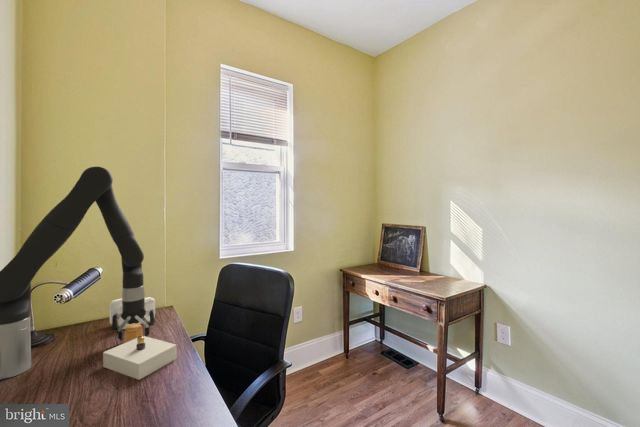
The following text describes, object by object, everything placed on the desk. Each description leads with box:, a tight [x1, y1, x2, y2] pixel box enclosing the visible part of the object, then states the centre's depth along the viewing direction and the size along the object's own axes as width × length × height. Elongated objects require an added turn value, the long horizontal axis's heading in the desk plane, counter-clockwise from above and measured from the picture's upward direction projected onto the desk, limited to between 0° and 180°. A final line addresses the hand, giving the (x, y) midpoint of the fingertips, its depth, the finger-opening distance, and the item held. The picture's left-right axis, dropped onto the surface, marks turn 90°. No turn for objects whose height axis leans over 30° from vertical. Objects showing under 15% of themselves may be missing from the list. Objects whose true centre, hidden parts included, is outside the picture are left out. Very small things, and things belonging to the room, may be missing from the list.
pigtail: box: [136, 335, 145, 350], centre depth 102 cm, size 3×3×4 cm
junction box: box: [102, 335, 178, 381], centre depth 103 cm, size 14×18×5 cm
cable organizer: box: [108, 296, 156, 330], centre depth 136 cm, size 15×11×12 cm
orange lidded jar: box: [124, 324, 143, 343], centre depth 118 cm, size 6×6×6 cm
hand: (134, 337), depth 118 cm, fingers open, 8 cm apart
